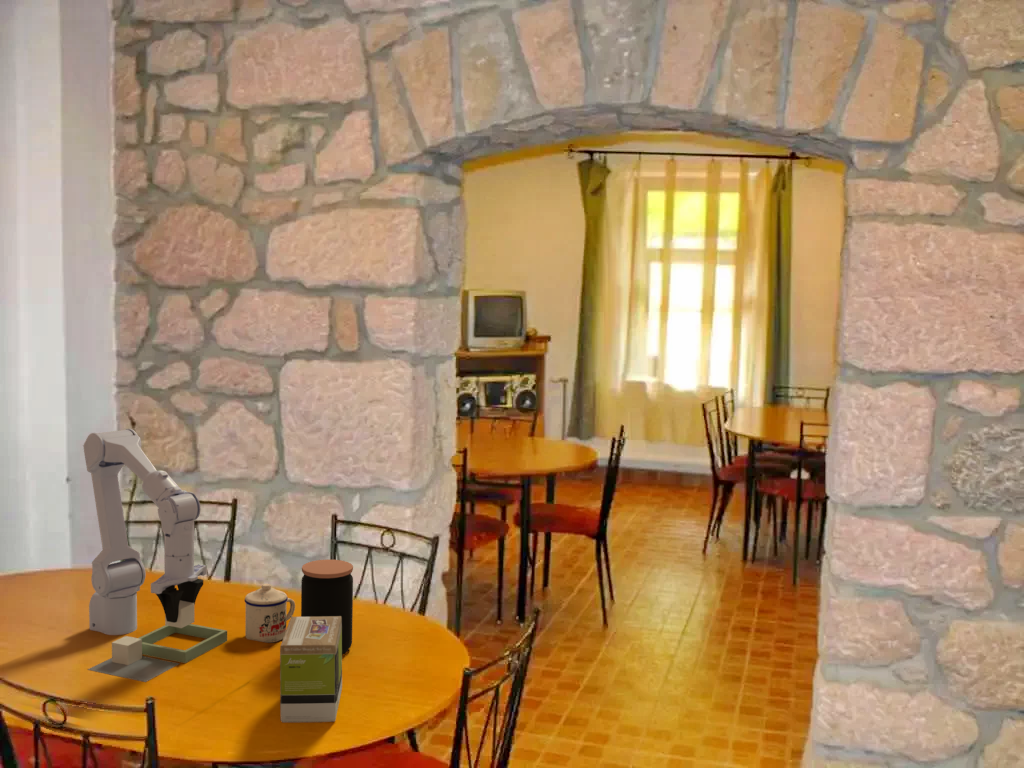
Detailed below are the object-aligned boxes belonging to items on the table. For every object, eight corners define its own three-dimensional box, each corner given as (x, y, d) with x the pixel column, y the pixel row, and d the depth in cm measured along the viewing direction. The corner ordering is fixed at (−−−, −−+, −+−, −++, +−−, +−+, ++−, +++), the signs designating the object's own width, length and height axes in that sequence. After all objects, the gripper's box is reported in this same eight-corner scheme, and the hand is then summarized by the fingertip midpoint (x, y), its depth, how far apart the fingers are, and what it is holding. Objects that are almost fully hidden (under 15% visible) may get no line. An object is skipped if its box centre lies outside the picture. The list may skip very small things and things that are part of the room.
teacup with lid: (260, 647, 217) (261, 594, 215) (235, 636, 223) (236, 584, 221) (306, 633, 226) (307, 582, 224) (281, 623, 232) (281, 573, 230)
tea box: (290, 688, 197) (290, 614, 195) (342, 688, 197) (344, 614, 196) (278, 723, 182) (279, 643, 180) (336, 723, 183) (337, 643, 181)
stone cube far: (165, 624, 208) (165, 605, 207) (178, 618, 212) (178, 600, 211) (181, 628, 206) (181, 608, 206) (194, 622, 210) (194, 603, 210)
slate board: (87, 673, 200) (87, 669, 200) (123, 655, 210) (123, 652, 210) (145, 685, 195) (145, 681, 195) (179, 667, 205) (179, 663, 205)
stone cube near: (112, 661, 204) (111, 642, 204) (126, 654, 208) (125, 636, 208) (128, 665, 203) (127, 645, 203) (142, 658, 207) (141, 639, 206)
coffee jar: (361, 645, 220) (363, 564, 217) (332, 662, 210) (334, 577, 208) (320, 636, 224) (321, 556, 222) (290, 652, 214) (291, 569, 212)
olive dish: (130, 655, 210) (130, 641, 210) (174, 634, 223) (174, 620, 222) (185, 666, 205) (185, 652, 205) (227, 644, 218) (227, 630, 217)
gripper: (171, 565, 199) (171, 632, 201) (218, 547, 213) (218, 610, 214) (142, 560, 202) (142, 626, 203) (190, 542, 215) (190, 605, 217)
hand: (179, 618), depth 209 cm, fingers closed on stone cube far, 4 cm apart
